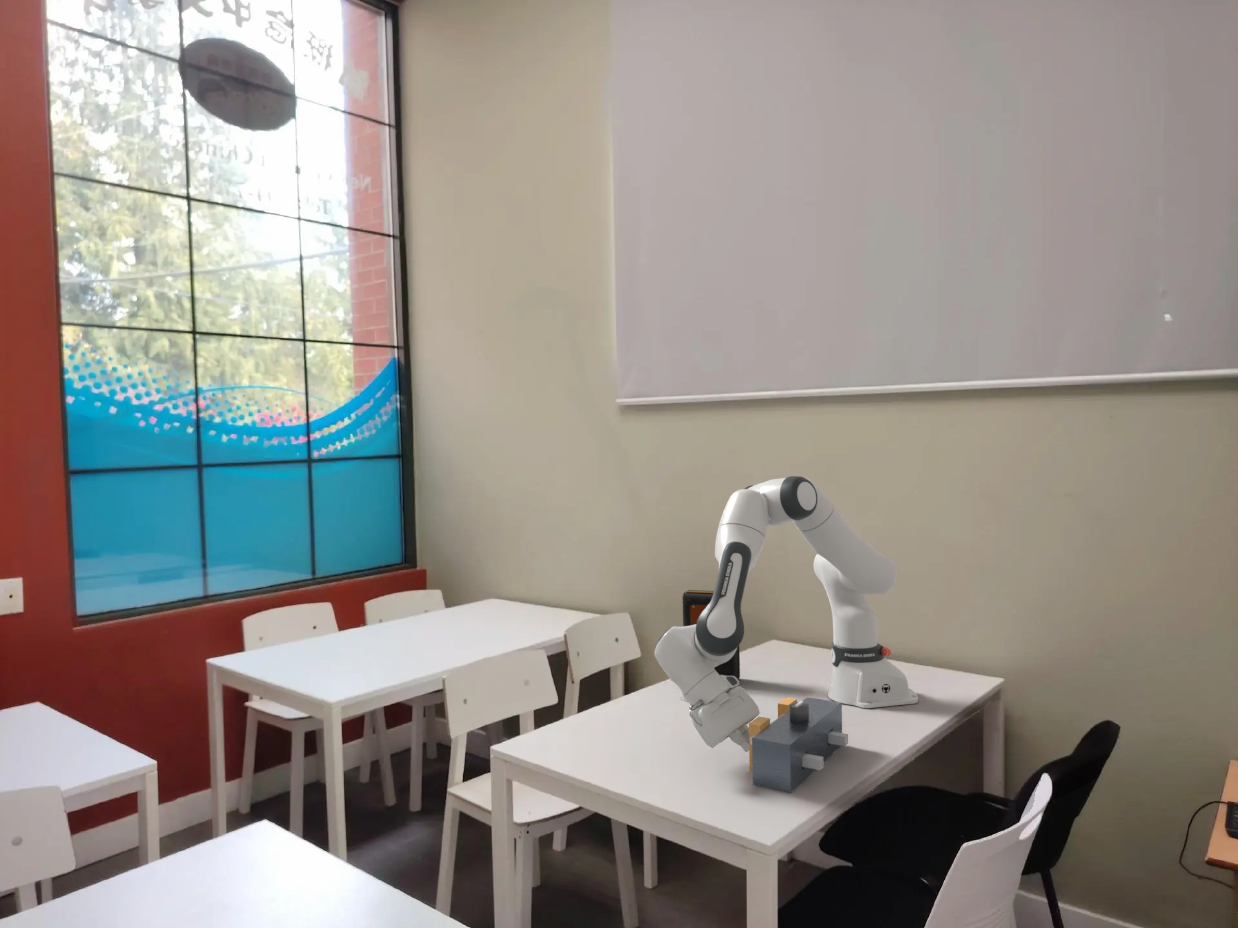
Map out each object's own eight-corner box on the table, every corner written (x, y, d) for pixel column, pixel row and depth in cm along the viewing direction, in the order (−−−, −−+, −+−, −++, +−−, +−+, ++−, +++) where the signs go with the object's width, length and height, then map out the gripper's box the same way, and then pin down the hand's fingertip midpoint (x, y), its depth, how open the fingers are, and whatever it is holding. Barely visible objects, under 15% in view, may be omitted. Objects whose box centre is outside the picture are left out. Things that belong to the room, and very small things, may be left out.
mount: (750, 784, 175) (750, 737, 174) (806, 737, 200) (805, 696, 199) (790, 793, 170) (789, 744, 170) (842, 744, 195) (841, 702, 195)
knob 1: (749, 771, 180) (748, 723, 180) (759, 763, 184) (758, 716, 184) (817, 785, 172) (816, 735, 172) (826, 776, 176) (825, 727, 176)
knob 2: (778, 748, 193) (777, 703, 192) (787, 741, 197) (786, 697, 196) (842, 760, 185) (842, 713, 184) (850, 752, 189) (849, 707, 189)
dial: (786, 720, 184) (786, 704, 184) (793, 714, 187) (793, 699, 187) (804, 723, 182) (804, 707, 181) (811, 717, 185) (811, 701, 185)
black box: (742, 677, 249) (740, 590, 248) (735, 686, 241) (734, 596, 240) (688, 673, 254) (686, 588, 253) (680, 682, 246) (679, 593, 245)
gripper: (695, 699, 177) (739, 755, 172) (738, 674, 194) (780, 725, 190) (676, 717, 180) (719, 773, 175) (721, 691, 197) (761, 741, 192)
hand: (751, 748), depth 182 cm, fingers closed, pressing on knob 1
